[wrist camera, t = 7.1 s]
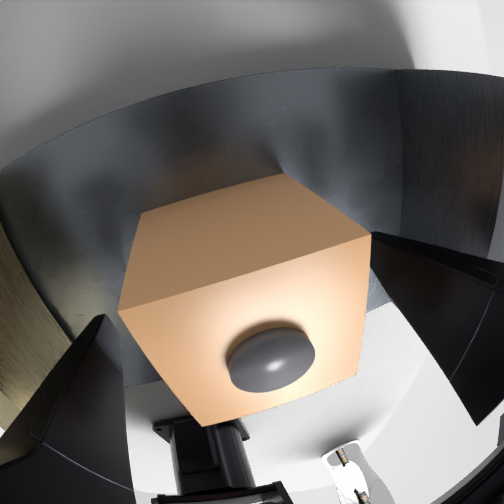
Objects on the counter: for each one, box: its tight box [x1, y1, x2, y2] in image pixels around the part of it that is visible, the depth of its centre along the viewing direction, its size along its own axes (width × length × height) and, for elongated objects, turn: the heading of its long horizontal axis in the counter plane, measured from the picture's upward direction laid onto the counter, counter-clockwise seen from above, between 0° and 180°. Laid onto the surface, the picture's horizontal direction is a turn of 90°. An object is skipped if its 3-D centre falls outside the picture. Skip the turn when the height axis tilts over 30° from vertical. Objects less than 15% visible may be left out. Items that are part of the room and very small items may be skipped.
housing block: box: [117, 173, 371, 427], centre depth 8 cm, size 5×5×5 cm
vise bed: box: [0, 68, 504, 387], centre depth 9 cm, size 12×22×7 cm, turn 101°
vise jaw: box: [0, 223, 72, 431], centre depth 7 cm, size 12×3×5 cm, turn 11°
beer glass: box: [322, 440, 395, 504], centre depth 26 cm, size 7×7×15 cm
